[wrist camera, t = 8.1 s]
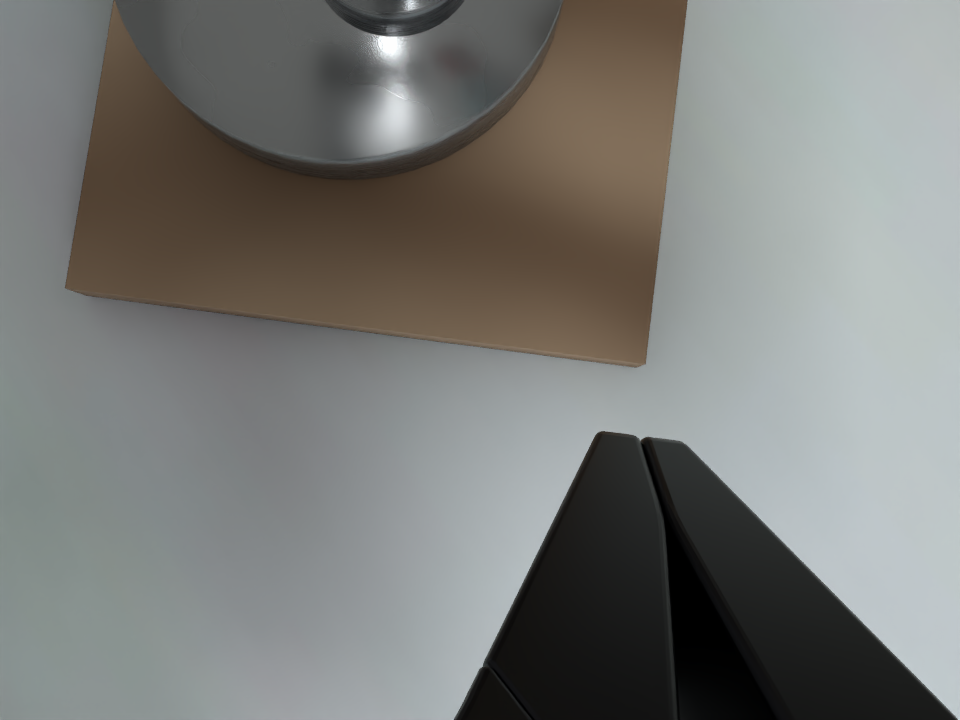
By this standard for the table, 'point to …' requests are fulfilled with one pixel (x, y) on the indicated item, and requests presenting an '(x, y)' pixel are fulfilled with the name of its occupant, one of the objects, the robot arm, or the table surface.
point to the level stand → (407, 207)
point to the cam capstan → (345, 74)
